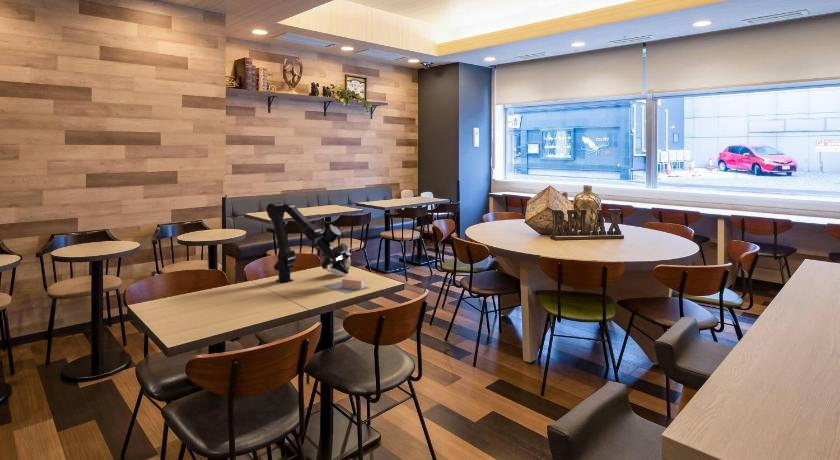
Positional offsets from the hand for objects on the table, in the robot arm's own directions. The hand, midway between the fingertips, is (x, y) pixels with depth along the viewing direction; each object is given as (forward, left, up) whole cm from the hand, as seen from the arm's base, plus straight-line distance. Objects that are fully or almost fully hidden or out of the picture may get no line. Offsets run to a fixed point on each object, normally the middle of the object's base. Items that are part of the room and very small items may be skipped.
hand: (347, 273), depth 240 cm
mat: (-1, -1, -7) cm, 7 cm away
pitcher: (-24, +11, -7) cm, 27 cm away
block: (-2, -1, -5) cm, 5 cm away
